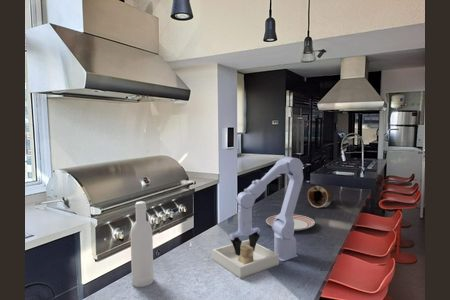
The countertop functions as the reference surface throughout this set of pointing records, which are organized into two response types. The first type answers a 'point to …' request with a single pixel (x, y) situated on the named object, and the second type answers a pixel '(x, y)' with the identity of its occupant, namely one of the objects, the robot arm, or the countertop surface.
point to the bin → (261, 262)
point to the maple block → (246, 254)
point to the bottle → (141, 248)
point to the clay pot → (320, 196)
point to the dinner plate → (296, 222)
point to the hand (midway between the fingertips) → (245, 252)
